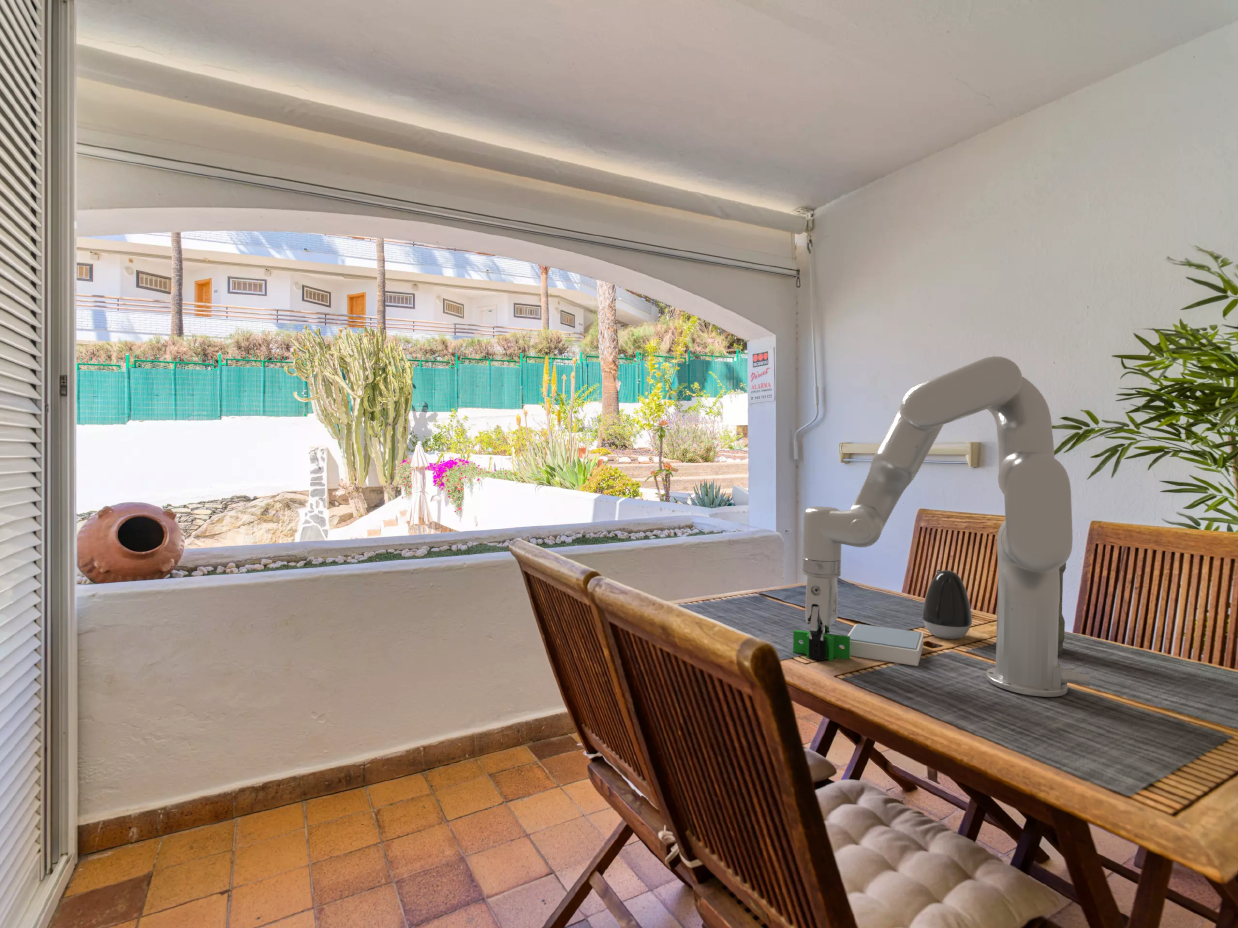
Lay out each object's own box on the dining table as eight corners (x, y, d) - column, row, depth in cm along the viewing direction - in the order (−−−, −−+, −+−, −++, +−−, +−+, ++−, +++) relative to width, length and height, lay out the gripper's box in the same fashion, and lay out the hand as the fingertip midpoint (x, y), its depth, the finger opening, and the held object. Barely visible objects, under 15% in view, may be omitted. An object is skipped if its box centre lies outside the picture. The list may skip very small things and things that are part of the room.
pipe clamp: (791, 656, 133) (791, 634, 133) (793, 651, 137) (793, 629, 136) (848, 663, 129) (848, 640, 129) (849, 657, 132) (850, 635, 132)
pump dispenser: (959, 630, 153) (961, 566, 152) (979, 643, 142) (981, 575, 142) (914, 628, 154) (916, 565, 153) (931, 641, 143) (933, 574, 143)
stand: (923, 647, 140) (923, 631, 139) (917, 666, 127) (918, 649, 127) (855, 637, 146) (855, 622, 146) (844, 654, 134) (844, 638, 134)
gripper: (832, 576, 123) (830, 670, 124) (847, 562, 138) (845, 647, 138) (792, 572, 127) (791, 664, 127) (811, 559, 141) (810, 641, 142)
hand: (819, 654), depth 133 cm, fingers closed on pipe clamp, 4 cm apart
